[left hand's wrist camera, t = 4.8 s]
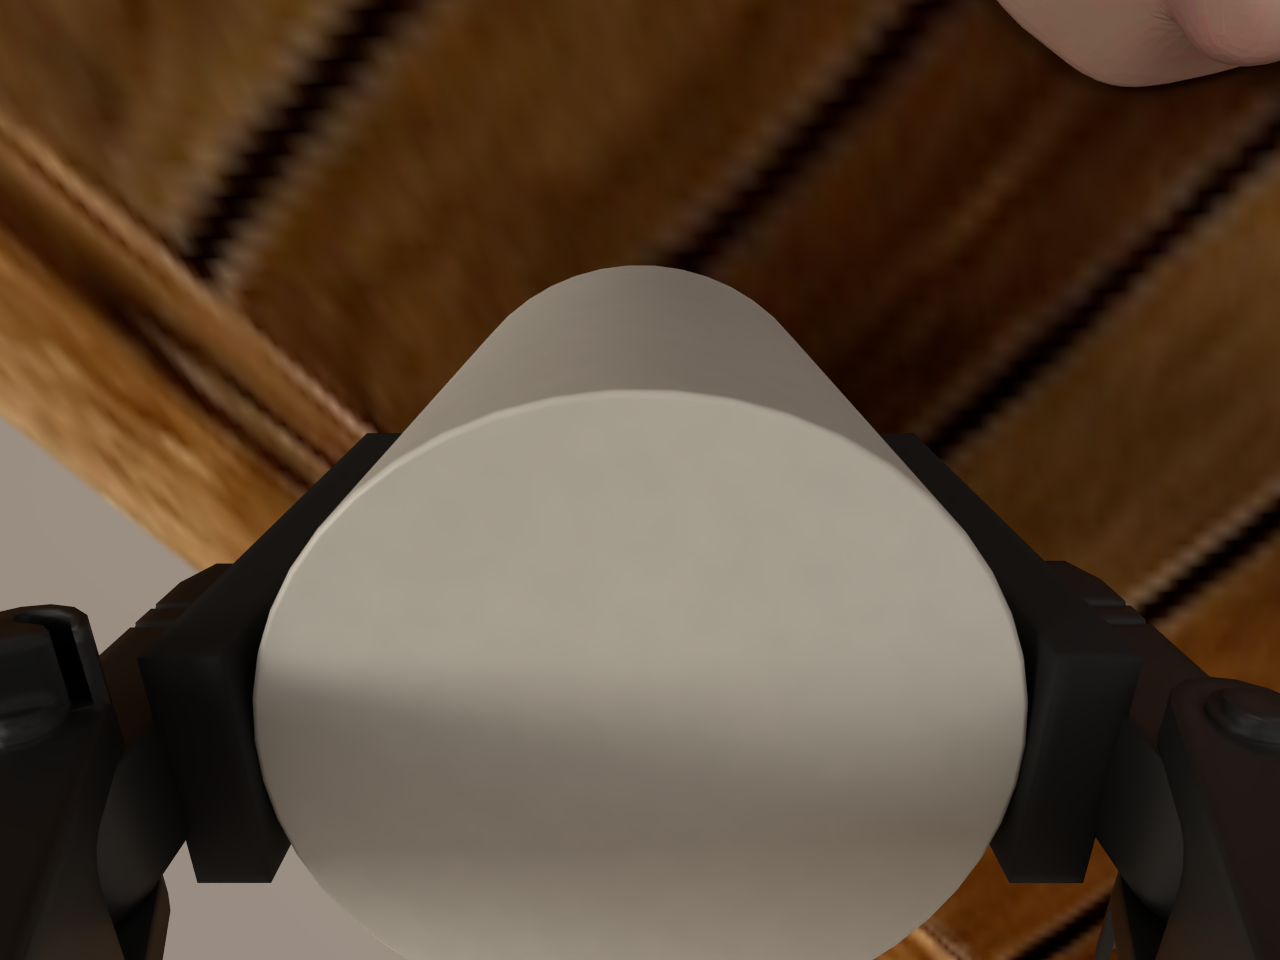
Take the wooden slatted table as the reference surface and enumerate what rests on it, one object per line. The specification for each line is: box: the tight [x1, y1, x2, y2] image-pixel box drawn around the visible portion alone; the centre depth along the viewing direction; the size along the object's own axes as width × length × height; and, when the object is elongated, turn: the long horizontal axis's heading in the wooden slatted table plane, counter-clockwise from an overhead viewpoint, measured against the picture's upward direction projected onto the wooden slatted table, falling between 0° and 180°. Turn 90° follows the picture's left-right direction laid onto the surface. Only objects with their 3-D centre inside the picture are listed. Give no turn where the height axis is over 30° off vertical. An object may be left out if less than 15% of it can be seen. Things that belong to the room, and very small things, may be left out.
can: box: [253, 266, 1028, 960], centre depth 12 cm, size 8×8×9 cm
